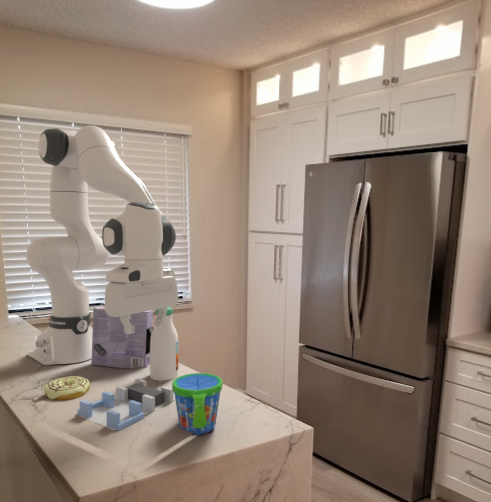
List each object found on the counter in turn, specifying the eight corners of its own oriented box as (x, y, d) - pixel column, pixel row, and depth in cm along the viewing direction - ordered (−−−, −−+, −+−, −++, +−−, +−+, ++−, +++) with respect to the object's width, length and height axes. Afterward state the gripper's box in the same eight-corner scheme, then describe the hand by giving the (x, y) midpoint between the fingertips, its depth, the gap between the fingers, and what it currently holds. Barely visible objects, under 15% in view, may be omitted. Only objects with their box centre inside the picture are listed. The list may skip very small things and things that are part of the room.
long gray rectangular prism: (125, 398, 102) (125, 387, 102) (136, 393, 105) (136, 383, 105) (153, 407, 97) (153, 396, 97) (164, 402, 100) (164, 391, 100)
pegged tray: (75, 419, 93) (75, 401, 93) (137, 392, 108) (137, 377, 108) (116, 436, 86) (116, 416, 86) (177, 405, 101) (177, 388, 101)
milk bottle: (172, 385, 114) (172, 311, 113) (145, 382, 115) (145, 310, 114) (182, 375, 121) (182, 306, 120) (157, 373, 123) (156, 305, 122)
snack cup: (176, 412, 97) (176, 368, 97) (222, 411, 98) (222, 368, 97) (167, 447, 82) (167, 396, 81) (222, 446, 82) (222, 395, 82)
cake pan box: (156, 366, 129) (156, 308, 128) (148, 371, 124) (148, 312, 123) (99, 361, 133) (99, 305, 132) (90, 366, 129) (89, 308, 128)
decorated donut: (46, 408, 99) (46, 392, 99) (43, 392, 108) (42, 378, 108) (93, 399, 104) (92, 384, 104) (85, 385, 114) (85, 371, 113)
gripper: (165, 267, 110) (165, 320, 111) (99, 274, 93) (100, 336, 93) (183, 268, 106) (184, 322, 107) (119, 275, 89) (120, 340, 90)
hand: (144, 329), depth 100 cm, fingers open, 8 cm apart
